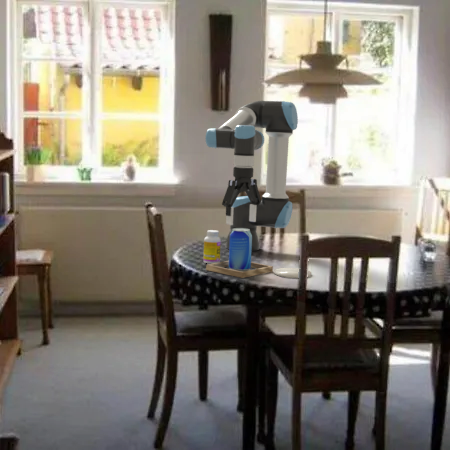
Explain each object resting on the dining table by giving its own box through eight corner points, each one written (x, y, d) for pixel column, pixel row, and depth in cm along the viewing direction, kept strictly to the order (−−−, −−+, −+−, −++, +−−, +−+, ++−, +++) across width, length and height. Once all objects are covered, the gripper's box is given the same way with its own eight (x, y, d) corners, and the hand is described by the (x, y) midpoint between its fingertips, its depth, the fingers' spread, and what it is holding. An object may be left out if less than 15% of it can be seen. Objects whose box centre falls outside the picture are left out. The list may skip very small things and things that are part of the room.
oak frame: (236, 264, 315) (236, 259, 314) (272, 271, 303) (272, 266, 303) (206, 269, 301) (206, 264, 301) (242, 277, 290) (242, 272, 289)
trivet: (288, 268, 309) (288, 266, 309) (318, 274, 300) (318, 272, 300) (266, 273, 299) (266, 271, 299) (296, 280, 290) (297, 277, 290)
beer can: (225, 271, 300) (227, 229, 297) (232, 267, 307) (234, 226, 305) (246, 274, 297) (248, 231, 294) (253, 269, 305) (255, 228, 302)
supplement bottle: (217, 265, 311) (219, 232, 310) (201, 263, 313) (202, 231, 311) (221, 261, 318) (222, 230, 316) (205, 260, 319) (206, 229, 317)
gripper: (256, 165, 308) (254, 219, 311) (213, 166, 289) (211, 224, 292) (271, 166, 303) (269, 221, 306) (229, 168, 284) (227, 227, 288)
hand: (241, 223), depth 299 cm, fingers open, 13 cm apart
